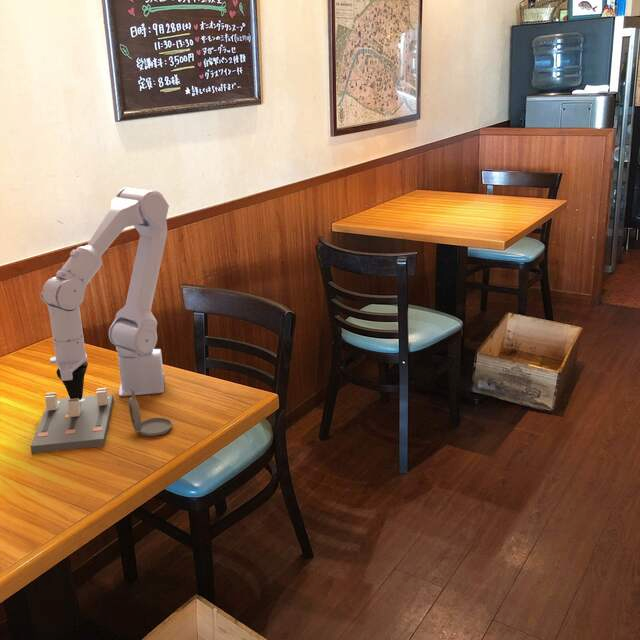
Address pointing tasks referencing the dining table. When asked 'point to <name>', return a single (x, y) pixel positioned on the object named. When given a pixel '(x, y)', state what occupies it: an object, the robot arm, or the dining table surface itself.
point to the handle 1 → (51, 401)
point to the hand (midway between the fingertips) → (76, 398)
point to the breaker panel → (73, 426)
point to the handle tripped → (74, 407)
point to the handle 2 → (102, 396)
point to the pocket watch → (150, 425)
